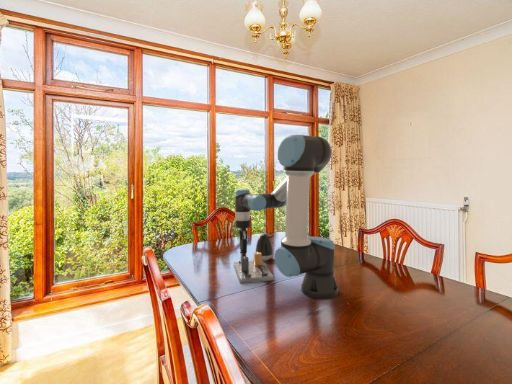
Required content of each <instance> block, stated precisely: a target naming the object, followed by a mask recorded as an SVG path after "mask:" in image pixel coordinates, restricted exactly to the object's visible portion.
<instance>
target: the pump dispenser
mask: <svg viewBox="0 0 512 384" xmlns="http://www.w3.org/2000/svg"><path fill="white" fill-rule="evenodd" d="M271 238H274V234H271V235H268V234H267V233H261V234H260V235H259V237H258V239H257V242H256V245H255V253H257V252H261V254H262V260H263V262H265V261H266V262H267V261H269V260H271V259H272V257H273V254H274V249H273V244H272V241H271Z"/></svg>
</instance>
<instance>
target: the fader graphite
mask: <svg viewBox="0 0 512 384" xmlns="http://www.w3.org/2000/svg"><path fill="white" fill-rule="evenodd" d="M240 261H241V271H248V270H249V257H248V256H246V257H245V256H244V257H241V256H240Z"/></svg>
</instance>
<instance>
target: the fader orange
mask: <svg viewBox="0 0 512 384" xmlns="http://www.w3.org/2000/svg"><path fill="white" fill-rule="evenodd" d="M253 260H254V265H255V266H257V265H262V254H261V252H257V253H256V252H253Z"/></svg>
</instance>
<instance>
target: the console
mask: <svg viewBox="0 0 512 384" xmlns="http://www.w3.org/2000/svg"><path fill="white" fill-rule="evenodd" d="M233 268H234V270H235V273H236V277H237V279H238V282H239V284H246V283H259V282H270V281H274V280H275V278H274V275H273V273H272V272H271V270H270V269H269V267H268V266H267V264H266V263H265V261H263V260H262V265H257V266H255V265H254V259H253V260H251V261H249V270H248V271H241V260H239V261H237V262H233Z"/></svg>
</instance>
